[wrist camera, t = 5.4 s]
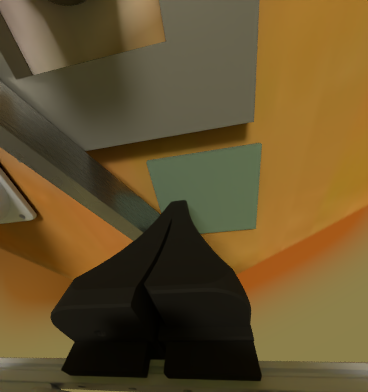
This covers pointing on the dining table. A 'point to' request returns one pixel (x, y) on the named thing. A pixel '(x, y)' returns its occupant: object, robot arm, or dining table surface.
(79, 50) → the dining table surface
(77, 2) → the plug
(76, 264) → the dining table surface
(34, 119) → the retaining bar
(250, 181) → the pad
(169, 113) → the dock plate
